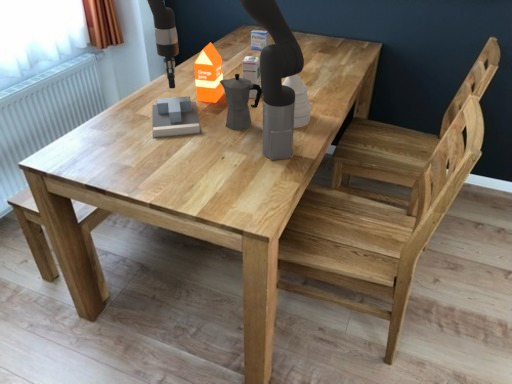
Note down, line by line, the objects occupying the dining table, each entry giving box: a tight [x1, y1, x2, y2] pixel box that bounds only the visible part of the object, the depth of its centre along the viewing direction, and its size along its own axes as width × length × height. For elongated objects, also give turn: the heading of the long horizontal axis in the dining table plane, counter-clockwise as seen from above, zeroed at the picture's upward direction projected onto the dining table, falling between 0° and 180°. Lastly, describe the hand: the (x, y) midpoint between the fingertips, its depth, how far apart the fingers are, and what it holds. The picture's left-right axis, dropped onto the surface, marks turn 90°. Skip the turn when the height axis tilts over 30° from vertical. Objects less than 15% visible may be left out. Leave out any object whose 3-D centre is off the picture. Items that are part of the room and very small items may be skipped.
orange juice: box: [193, 42, 224, 104], centre depth 163 cm, size 8×9×20 cm
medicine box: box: [250, 29, 270, 51], centre depth 213 cm, size 8×4×9 cm, turn 73°
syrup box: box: [241, 55, 261, 99], centre depth 166 cm, size 6×6×14 cm
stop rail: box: [152, 123, 201, 137], centre depth 144 cm, size 2×15×2 cm, turn 101°
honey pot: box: [282, 74, 312, 129], centre depth 148 cm, size 13×13×18 cm
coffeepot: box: [219, 73, 263, 131], centre depth 145 cm, size 15×9×18 cm, turn 66°
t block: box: [156, 95, 192, 123], centre depth 155 cm, size 12×12×4 cm
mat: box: [151, 101, 203, 140], centre depth 154 cm, size 26×16×1 cm, turn 11°
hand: (172, 87), depth 162 cm, fingers closed
